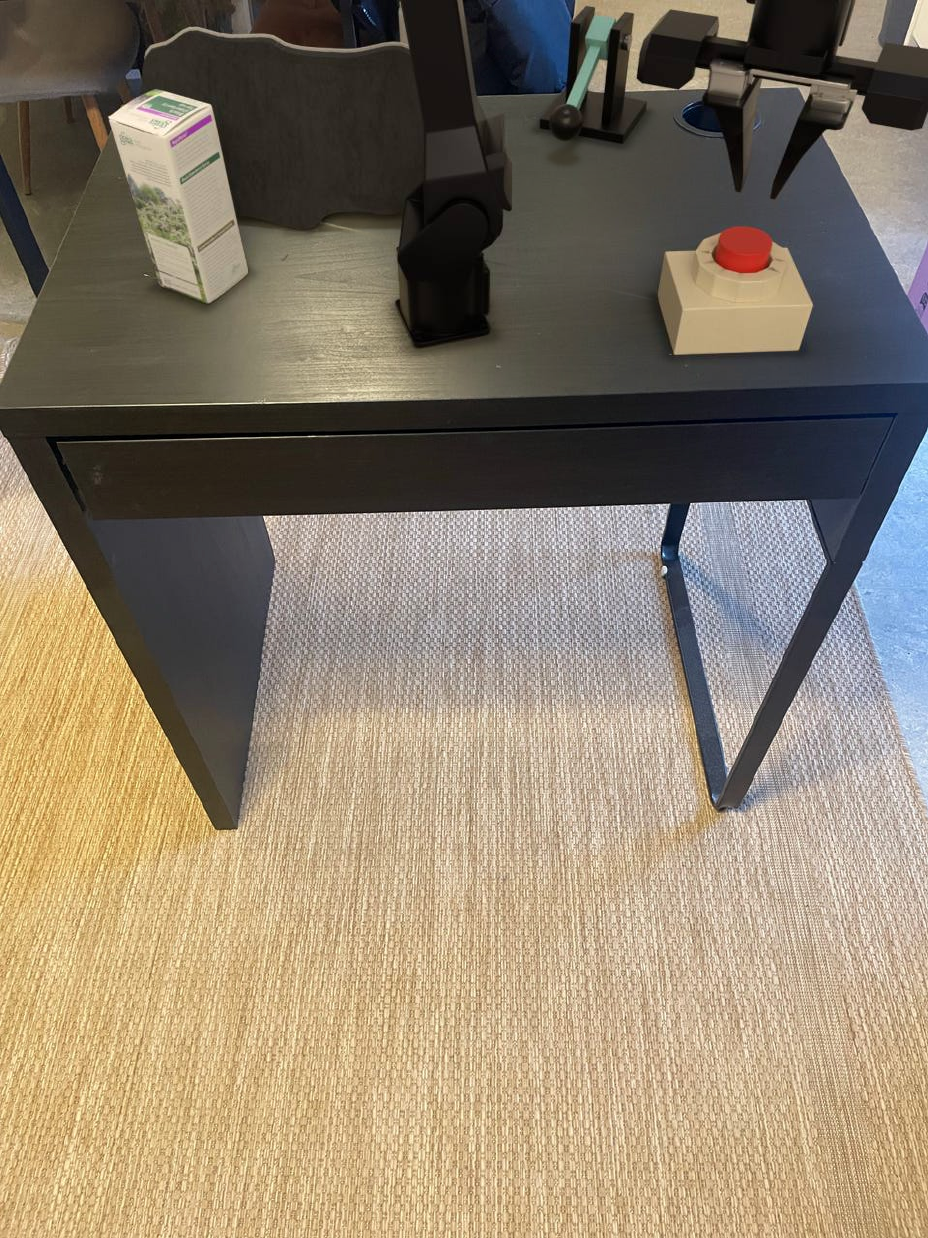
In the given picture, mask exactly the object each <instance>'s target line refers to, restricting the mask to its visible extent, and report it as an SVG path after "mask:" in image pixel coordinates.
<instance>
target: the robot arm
mask: <svg viewBox="0 0 928 1238" xmlns="http://www.w3.org/2000/svg"><path fill="white" fill-rule="evenodd" d="M745 2H746V4H749V5H754V6H753V12H752V15H751V21H750V25H749V31H748V36H747V40H741V39H735V38H728V37H721V36H718V34H719V30H720V19H719V16H717V15H716V16H715V15H710V14H704V13H697V12H690V11H684V10H678V9H673V8H671V9H669V10H668V11H667V12H665V13H664V14H663V15H662V16H661V17H660V18H659V19H658V21H657V22H656V23H655V25H654V26H653V27H652V28H651V29H650V31H649V32H648V33H647V35H646V36H645V37H644V38H643V40H642V44H641V47H640V50H639V55H638V62H637V69H636V70H637V71H636V80H637V81H639V82H640V83H641V84H643V85H649V86H654V87H660V88H666V89H670V90H671V89H672V90H678V91H679V90H680V89H682V88H683V87H684V86H686V85H687V84H689V82H691V81H692V80H694V79H693V78H694V77H695V74H696V69H701V70H707V71H709V72H708V83H707V88H706V89H705V91H704V93H703V95H702V97H701V105H702V106H703V107H705V108H707V109H711V110H713V111H714V113H715V116H716V119H717V122H718V125H719V128H720V130H721V134H722V137H723V139H724V142H725V146H726V151H727V157H728V160H729V166H730V171H731V176H732V181H733V187H734V191H735V192H736V193H740V194H741V193H742V191H743V189H744V187H745V184H746V180H747V175H748V173H749V168H750V163H751V152H752V147H753V146H752V145H753V139H754V138H753V137H754V131H755V130H754V129H755V122H756V112H757V105H758V101H759V96H760V91H761V87H762V82H763V80H767V81H772V82H779V83H785V84H791V85H797V86H803V87H808V88H809V93H808V95H807V98H806V100H805V102H804V104H803V106H802V108H801V110H800V113H799V115H798V116H797V120H796V122H795V124H794V127H793V129H792V132H791V135H790V138H789V139H788V143H787V145H786V148H785V150H784V153H783V155H782V158H781V161H780V163H779V166H778V169H777V171H776V175H775V177H774V179H773V182H772V185H771V191H770V195H769V199H770V200H776V199H777V198H778V196H779V194H781V191H782V190H783V188H784V186H785V185H786V183H787V182H788V180H789V179H790V177H791V176H792V174H793V172H794V171H795V169H796V168H797V166H798V164H799V163H800V161H802V159H803V158H804V157H805V155H806V153H808V151H809V150H810V149H811V148H812V147H813V146H814V144H816V142H817V141H818V140H819V139H820V137H822V135H823V134H824V133H825V131H828V130H829V131H841V130H843V129H844V128H845V125H846V122H847V120H848V118H849V115H850V113H851V111H852V108H853V106H854V104H855V101H856V98H857V96H862V97H864V99H863V101H862V105H861V111H862V112H863V114H864V116H865V117H866V119H867V121H868V123H869V124H870V125H876V126H883V127H889V128H894V129H898V130H899V129H900V130H906V131H911V132H913V131H918V130H922V129H923V128H924V125H925V121H926V119H927V116H928V48H925V47H919V46H911V45H905V44H901V43H900V44H899V43H893V42H886V41H885V42H884V44H883V47H882V48H881V51H880V54H879V56H878V59H877V61H872V60H867V59H862V58H855V57H850V56H843V55H837V53H838V50H839V47H842V46H843V44H844V42H845V40H846V38H847V33H848V30H849V26H850V22H851V20H852V15H853V12H854V9H855V8H854V7H855V5H856V0H745ZM400 3H401V8H402V13H403V19H404V24H405V29H406V34H407V40H408V45H409V50H410V55H411V60H412V66H413V71H414V76H415V81H416V87H417V92H418V97H419V102H420V108H421V113H422V118H423V124H424V151H423V181H422V182H421V183H420V184H419V185H418V186H417V187H416V188H415V189H414V190H413V191H412V192H411V193H410V194H409V195H408V196H407V197H406V198H405V203H404V210H403V211H402V218H401V225H400V233H399V241H398V246H396V249H395V250H396V264H397V278H398V291H399V292H398V293H399V298H397V299H396V300H395V301H394V305H395V310H396V311H397V313H398V316H399V318H400V320H401V322H402V324H403V327H404V329H405V331H406V333H407V336H408V337H409V340H410V342H411V344H412V346H413V347H414V348H416V349H422V348H427V347H433V346H438V345H442V344H448V343H452V342H458V341H463V340H468V339H473V338H478V337H483V336H487V335H489V334H490V333H491V325H490V323H489V322H488V320H487V318H486V316H487V315H489V313H490V311H491V268H490V267H489V265H488V264H487V262H486V260H485V253H484V251H485V250H486V249H488V248H489V247H491V246H492V245H493V244H494V242H496V240H497V239H498V238H499V237H500V236H501V234H502V231H503V228H504V211H506V212H512V210H513V162H512V161H511V158H510V157H509V156H508V154H507V149H506V114H504V113H501V114H498V115H495V116H492V117H488V118H487V116H486V113H485V111H484V110H483V108H482V105H481V103H480V101H479V98H478V94H477V91H476V84H475V78H474V77H475V76H474V71H473V70H474V69H473V62H472V56H471V50H470V43H469V35H468V29H467V28H468V27H467V21H466V16H465V11H464V10H465V9H464V2H463V0H399V4H400Z"/></svg>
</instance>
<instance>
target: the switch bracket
mask: <svg viewBox="0 0 928 1238" xmlns="http://www.w3.org/2000/svg"><path fill="white" fill-rule="evenodd" d="M594 15H596V7H595V6H589V5H585V6H584V8H582V9H581V10H580V12H579V13H578V14H577V15H576V16H575V17H574V18H573V19H572V20H571V21H570V29H569V44H568V57H567V58H568V59H567V70H566V71H567V73H566V87H565V88H564V89H563V91H562V92H561V93H560V94H559V95H558V97H557V98H556V99H555V100H554V101H553V102H552V104H551V105H550V106H549V107H548V109H547V110H546V111H545V112H544V113H543V115H542V116H540V118H539V129H542V130H546V131H551V130H550V124H549V123H550V117H551V114H552V113H553V111H554V110H555V109H556V108H557V107H558V106H560V105H563V104H566V103H567V101H568V98H569V96H570V93H571V91H572V89H573V86H574V84H575V81H576V79H577V76H578V74H579V72H580V69H581V67H582V64H583V62H584V59H585V57H586V44H585V37H586V34H587V32H588V29H589V27H590V24H591V22H592V20H593V17H594ZM634 18H635V13H634V12H629V11H624V12H623V13H622V14H621V16H620V17H618V19H616V23H615V24H614V25H613V26H612V28H611V29H610V38H609V48H608V58H607V61H606V69H605V80H604V89H603V91H604V92H597V91H592V90H589V88H588V89H587V91H586V94H585V96H584V98H583V101H582V103H581V106H580V108H579V111H580V112H581V115H582V119H583V124H582V129H581V131H580V133H579V134H578V135H577V136H576V137H578V136H579V137H582V138H587V139H588V138H589V139H594V140H598V141H603V142H609V143H615V144H620V145H623V144H624V143H625V142H626V140H627V139H628V138H629V136H630V134H631V133H632V132H633V130H634V129H635V127H636V126H637V124H638V123H639V121H640V120H641V119H642V117H643V115H644V114H645V113H646V110H647V104H648V101H647V100H642V99H637V98H633V97H626V89H627V88H626V86H627V79H628V78H627V77H628V70H629V61H630V55H631V54H630V53H631V47H632V44H633V43H632V42H633V27H634Z"/></svg>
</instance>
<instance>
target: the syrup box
mask: <svg viewBox="0 0 928 1238" xmlns="http://www.w3.org/2000/svg"><path fill="white" fill-rule="evenodd" d="M108 122H109V125H110V128H111V131H112V134H113V137H114V142H115V144H116V148H117V151H118V154H119V157H120V162H121V164H122V167H123V172H124V174H125V177H126V181H127V184H128V187H129V190H130V193H131V196H132V197H131V198H132V200H133V203H134V207H135V210H136V213H137V216H138V220H139V224H140V226H141V231H142V232H143V235H144V241H145V243H146V246H147V250H148V253H149V256H150V259H151V262H152V265H153V268H154V272H155V276H156V278H157V282H158V285H159V287H162V288H165V289H167V290H169V291H173V292H176V293H178V294H181V295H183V296H185V297H189V298H191V299H194V300H197V301H199V302H202V303H205V304H208V305H209V304H211V303H213V302H214V301H215V300H217V299H218V298H220V297H221V296H222V295H223V294H225V293H226V292H227V291H229V290H230V289H231V288H232V287H234V286H236V284H238V283H239V282H240V281H241V280H242V279H244V278H245V277H246V276H247V275H248V274H249V268H248V264H247V258H246V255H245V250H244V246H243V243H242V238H241V233H240V229H239V225H238V220H237V219H238V218H237V215H235V210H234V206H233V201H232V197H231V192H230V187H229V183H228V178H227V173H226V169H225V164H224V159H223V155H222V150H221V145H220V141H219V136H218V131H217V127H216V122H215V118H214V114H213V109H212V106H211V105H210V104H207V103H203V102H200V101H196V100H193V99H190V98H186V97H183V96H179V95H176V94H172V93H169V92H165V91H162V90H159V89H155V90H152V91H150V92H148V93H145V94H143V95H141V96H139V95H138V97H135V98H133V99H132V100H130V101H129V102H128V103H126V104H124V105H122V106H121V107H120V108H119V109H118V110H116V111H115V112H114V113H112V114H111V115H108Z"/></svg>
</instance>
